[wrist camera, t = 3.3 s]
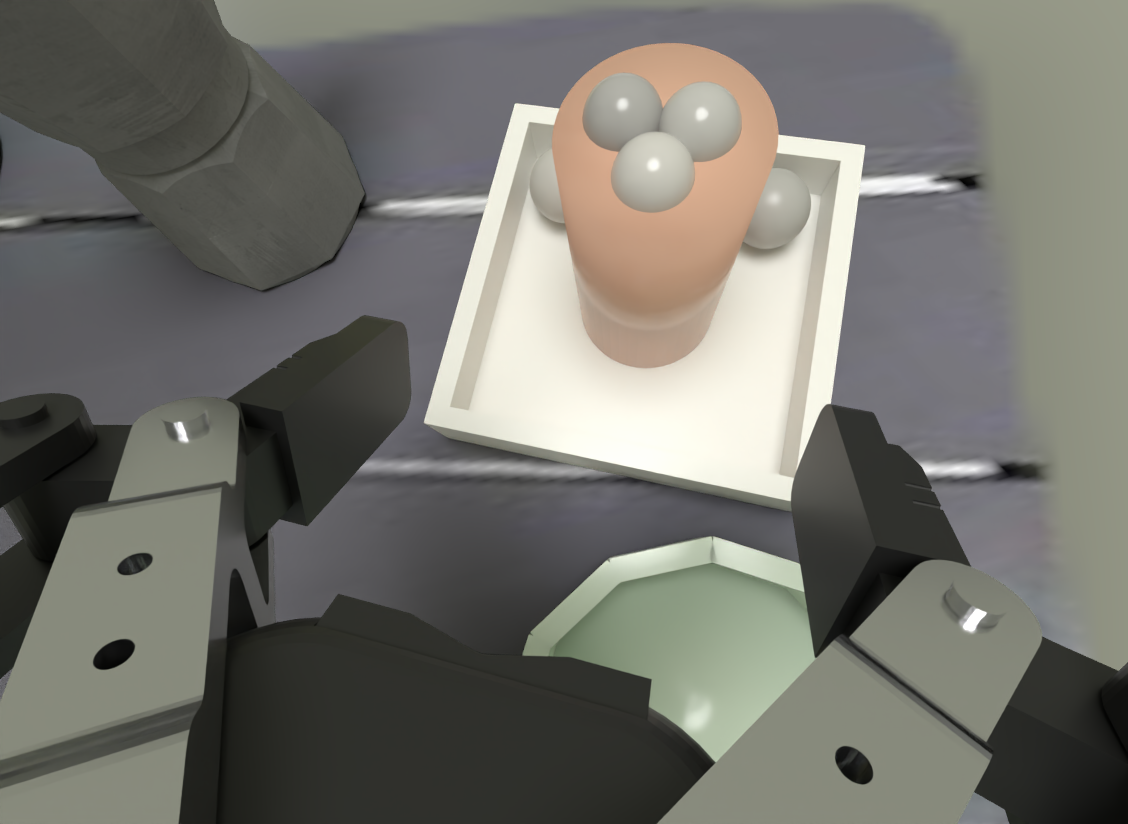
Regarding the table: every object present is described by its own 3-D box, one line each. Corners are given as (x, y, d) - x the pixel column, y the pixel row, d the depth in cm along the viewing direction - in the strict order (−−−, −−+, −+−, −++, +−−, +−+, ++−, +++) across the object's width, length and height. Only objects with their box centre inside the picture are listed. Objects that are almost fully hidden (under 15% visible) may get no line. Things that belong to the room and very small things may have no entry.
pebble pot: (596, 381, 23) (574, 239, 12) (568, 263, 24) (526, 44, 14) (728, 350, 22) (822, 178, 12) (693, 233, 24) (749, -15, 13)
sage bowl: (560, 977, 19) (546, 1071, 16) (492, 582, 22) (468, 589, 19) (948, 906, 18) (1022, 988, 15) (821, 510, 21) (858, 504, 18)
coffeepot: (229, 363, 26) (-615, -29, 8) (118, 241, 28) (-733, -273, 10) (469, 136, 27) (193, -603, 10) (346, 37, 29) (-60, -712, 12)
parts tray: (448, 438, 24) (416, 418, 20) (527, 151, 26) (511, 88, 23) (790, 512, 22) (825, 505, 18) (836, 193, 24) (874, 130, 21)
